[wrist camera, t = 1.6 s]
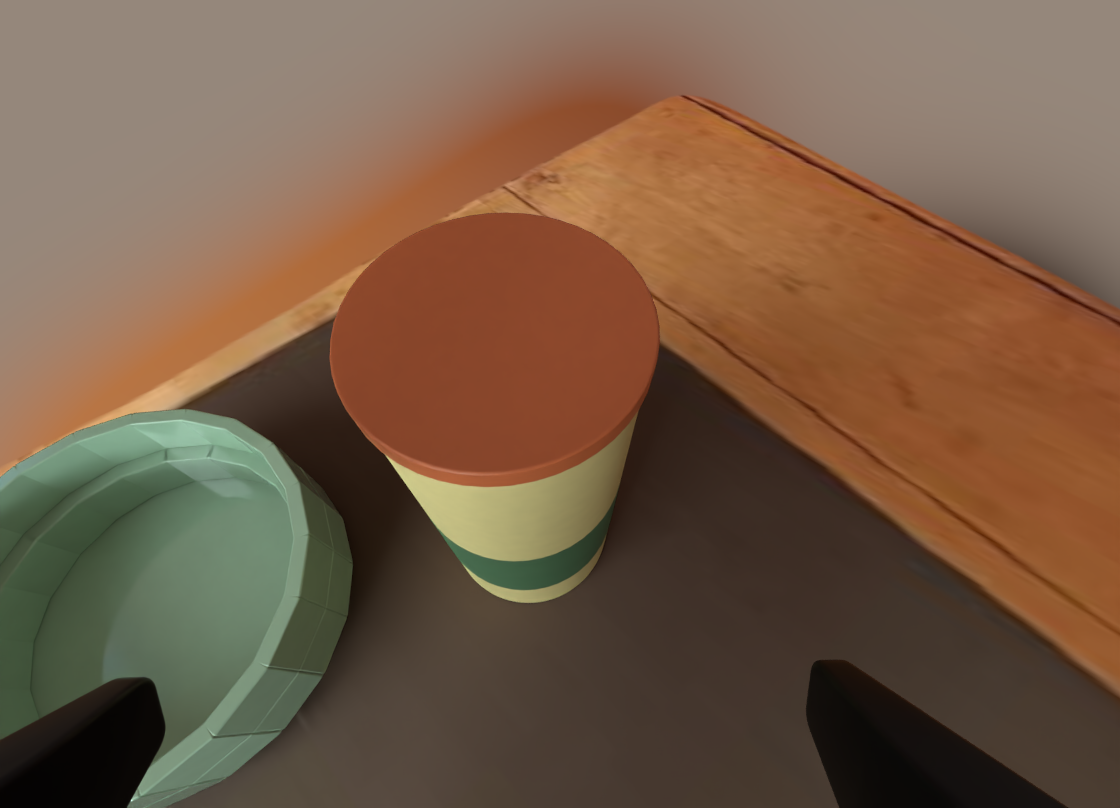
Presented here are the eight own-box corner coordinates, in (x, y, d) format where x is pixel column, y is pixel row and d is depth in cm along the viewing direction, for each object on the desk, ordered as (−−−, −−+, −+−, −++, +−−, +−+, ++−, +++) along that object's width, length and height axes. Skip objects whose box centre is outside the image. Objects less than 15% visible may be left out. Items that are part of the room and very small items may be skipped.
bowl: (168, 903, 15) (30, 973, 11) (-57, 672, 18) (-227, 662, 14) (420, 551, 20) (387, 514, 16) (212, 416, 23) (141, 358, 19)
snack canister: (558, 640, 19) (551, 547, 8) (420, 551, 20) (255, 370, 9) (635, 497, 21) (712, 278, 10) (508, 429, 23) (459, 177, 12)
